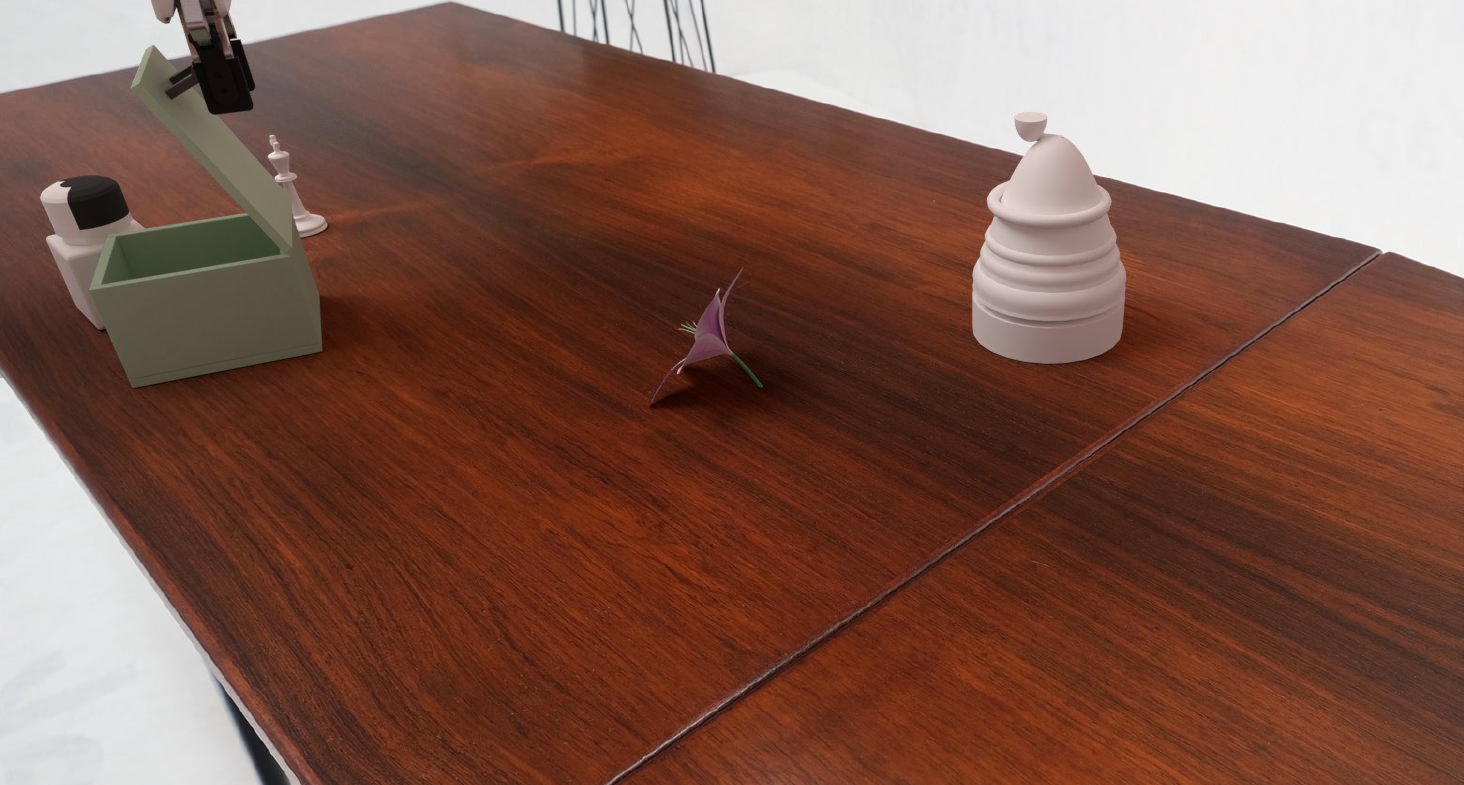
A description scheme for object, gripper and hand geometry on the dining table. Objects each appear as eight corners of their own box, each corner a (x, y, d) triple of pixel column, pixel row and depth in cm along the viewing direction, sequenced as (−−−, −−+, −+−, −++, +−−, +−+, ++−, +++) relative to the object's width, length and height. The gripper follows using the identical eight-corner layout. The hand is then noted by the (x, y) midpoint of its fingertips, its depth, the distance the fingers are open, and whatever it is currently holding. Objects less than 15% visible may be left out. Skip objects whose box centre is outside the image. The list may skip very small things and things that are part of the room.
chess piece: (286, 242, 124) (254, 147, 119) (270, 229, 127) (238, 135, 122) (334, 229, 127) (305, 135, 121) (318, 217, 130) (288, 124, 124)
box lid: (129, 88, 88) (188, 52, 89) (145, 49, 98) (198, 16, 98) (284, 253, 98) (336, 220, 99) (284, 203, 108) (332, 173, 108)
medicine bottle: (158, 284, 116) (108, 163, 109) (183, 306, 112) (132, 181, 105) (76, 308, 112) (19, 183, 105) (99, 332, 108) (41, 203, 101)
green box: (132, 388, 99) (88, 290, 94) (146, 326, 109) (106, 234, 104) (322, 351, 104) (290, 256, 99) (319, 295, 113) (289, 205, 108)
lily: (746, 348, 104) (677, 261, 99) (835, 335, 96) (764, 239, 91) (664, 446, 98) (587, 359, 93) (751, 441, 90) (671, 344, 85)
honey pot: (951, 350, 101) (948, 137, 91) (999, 288, 111) (1001, 89, 100) (1101, 374, 97) (1116, 153, 86) (1137, 307, 106) (1154, 102, 96)
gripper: (104, -160, 92) (189, 81, 102) (73, -135, 79) (174, 139, 89) (212, -167, 94) (284, 70, 105) (199, -143, 81) (284, 125, 92)
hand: (233, 99), depth 97 cm, fingers closed on box lid, 5 cm apart
